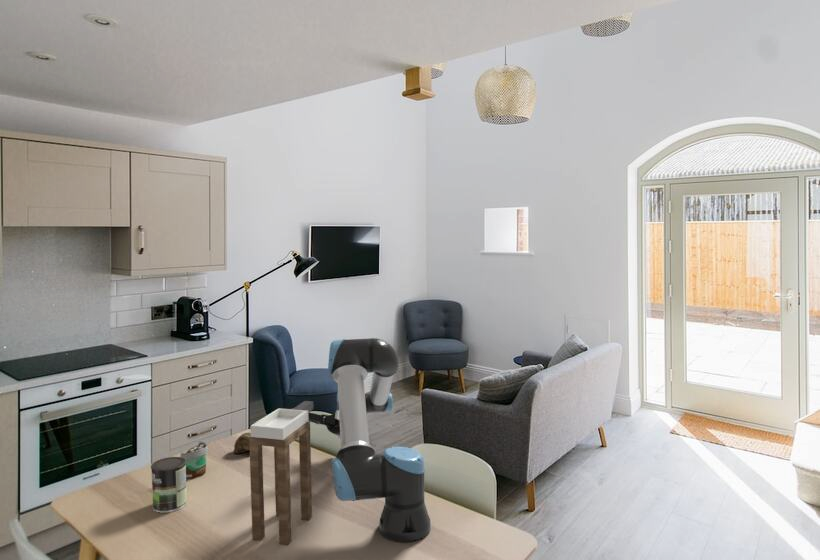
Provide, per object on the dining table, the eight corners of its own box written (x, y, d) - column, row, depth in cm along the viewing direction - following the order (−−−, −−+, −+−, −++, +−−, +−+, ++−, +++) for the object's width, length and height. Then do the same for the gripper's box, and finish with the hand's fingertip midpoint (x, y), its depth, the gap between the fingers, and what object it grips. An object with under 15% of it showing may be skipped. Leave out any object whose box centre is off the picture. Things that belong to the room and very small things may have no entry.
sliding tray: (295, 407, 176) (295, 398, 176) (323, 409, 173) (323, 400, 173) (250, 436, 150) (250, 425, 149) (283, 440, 147) (282, 428, 147)
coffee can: (160, 516, 165) (158, 472, 164) (147, 505, 172) (145, 463, 171) (193, 504, 173) (191, 462, 172) (179, 494, 180) (177, 453, 179)
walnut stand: (279, 512, 167) (277, 418, 165) (312, 516, 165) (310, 421, 162) (252, 540, 152) (249, 437, 150) (287, 545, 149) (284, 440, 147)
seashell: (266, 448, 220) (266, 429, 219) (255, 457, 211) (254, 437, 210) (242, 446, 222) (241, 427, 222) (229, 455, 213) (228, 435, 213)
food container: (196, 482, 189) (195, 454, 188) (181, 480, 190) (179, 453, 190) (215, 467, 201) (214, 441, 200) (201, 466, 202) (200, 440, 202)
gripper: (369, 437, 196) (350, 426, 177) (306, 432, 202) (282, 420, 183) (372, 417, 199) (354, 404, 180) (310, 412, 205) (286, 399, 187)
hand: (317, 412), depth 182 cm, fingers open, 13 cm apart
